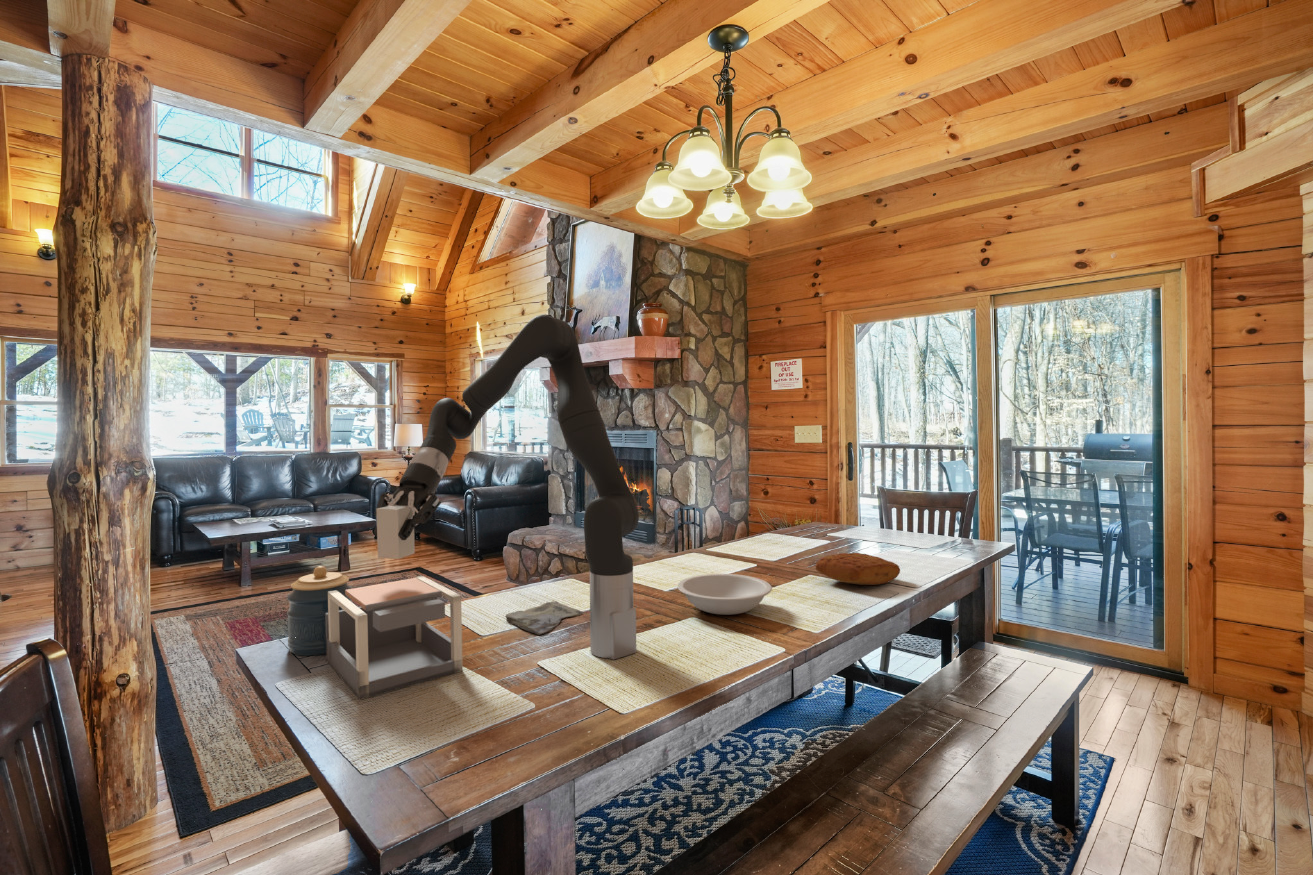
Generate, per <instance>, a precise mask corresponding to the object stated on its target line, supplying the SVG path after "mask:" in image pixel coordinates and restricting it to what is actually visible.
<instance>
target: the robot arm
mask: <svg viewBox="0 0 1313 875" xmlns="http://www.w3.org/2000/svg"><path fill="white" fill-rule="evenodd" d="M539 358H544V359H547V361H548V362H549V365H550V367H551V370H552V371H553V372H552V373H553V374H554V377H555V381H556V385H557V404H556V415H557V420H558V424H559V427H560V430H561V433H562V435H563V436H562V437H563V439H564V441H565V442H564V443H565V444H566V446H567V448H568V449H569V451H570V452H571V453H572V455H573V457H574V458H575V459H576V460H577V462H578V463H579V464H580V465H581V466H582V467H583V468H584V469H585V471H586V472H587V473H588V474H589V476H590V477H591V479H592V481H593V483H594V487H595V489H596V491H597V495H598V497H595V498H594V499H592V500H591V501H590V502H589V503H588V504H587V505H586V508H585V512H584V516H583V532H584V536H583V537H584V548H585V550H584V551H585V557H586V560H587V562H588V564H589V625H590V626H589V634H590V635H589V637H590V639H589V641H590V653H591V655H594V656H595V657H598V658H603V659H604V658H605V659H610V660H617V659H620V658H622V657H626V656H630V655H632V654H636V653H637V609H636V607H634V559H633V557H632V555H630V554H628V553H625V551H624V546H623V544H624V543H623V537H624V536H627V535H630V534H631V533H633V532H635V530H636V529H637V527H638V525H639V521H640V520H639V519H640V514H639V508H638V505H637V503H636V501H635V498H634V495H633V494H632V492H631V490H630V487H629V485H628V483H627V481H626V479H625V477H624V475H623V473H622V471H621V468H620V466H619V463H618V460H617V457H616V455H615V452H614V448H613V446H612V444H611V440H610V438H609V436H608V435H609V434H608V432H607V429H606V426H605V423H604V420H603V417H602V414H601V411H600V409H599V406H598V404H597V402H596V399H595V396H594V393H593V390H592V388H591V385H590V382H589V379H588V377H587V374H586V371H585V368H584V367H585V366H584V364H583V360H582V355H581V352H580V347H579V343H578V339H577V335H576V332H575V330H574V329H573V327H572V326H571V325H570V324H569V323H568V322H566V321H564V320H562V319H559V318H557V317H555V316H552V315H547V314H539V315H536V316H534V317H533V318H531V319H530V320H529V321H528V322H526V324H525V325H524V326H523V327H522V328H521V330H520V331H519V333H518V334H517V335H516V336H515V338H513V340H512V341H511V342H510V343H509V345H508V346H507V347H506V348H505V349H504V351H503V352H502V353H501V355H500V356H499V357H497V359H496V360H495V361H494V362H493V363H492V364H491V366H490V367H489V368H488V369H487V370H485V371H484V372H483V373H482V374H481V375H480V376H479V377H477V378H476V379H475V380H474V381H473V382H471V383H470V384H469V385H468V386H467V387H466V388H465V389H464V390H463V391H462V400H463V403H464V404H465V406H466V407H467V408H468V409H466V408H465V407H464V406H463V405H461V404H460V403H459V402H457V401H456V400H455V399H454V398H453V399H452V398H451V397H444V398H441V399H440V400H438V401H437V402H436V403H435V405H434V406H433V407H432V410H431V412H430V416H429V420H428V421H429V422H428V427H427V431H426V436H425V438H424V440H423V442H422V443H421V445H420V447H419V449H418V450H417V451H416V453H415V454H414V455H413V457H412V459H411V460H410V462H409V464H408V465H407V467H406V469H405V471H404V472H403V474H402V477H401V478H400V479H399V485H398V488H397V489H396V490H395V491H394V492H393V493H392V494H387V493H386V492H382V493H381V494H380V496H379V499H378V502H377V505H376V508H375V511H374V516H375V517H376V518H377V510H376V509H378V508H382V507H387V506H395V505H405V506H409V507H410V512H409V514H408V517H407V518H408V520H405V522H404V524H403V526H402V527H401V529H400V531H399V533H398V536H399V537H400V538H401V540H406V539H407V538H408V537H409V536H410V534H411V533H412V531H413V529H414V530H415V527H417V525H419V524H427V522H429V519H430V518H431V517H432V516H433V515H434V513H435V512H436V511H437V509H438V508H439V506H440V505H441V503H442V502H441V500H440V499H439V497H438V496H437V495H436V494H435V493H436V491H437V489H438V486H439V485H440V484H441V483H440V482H441V480H443V477H444V475H445V473H446V471H447V467H448V465H449V463H450V460H451V458H452V457H453V455H454V454H455V451H456V449H457V442H456V440H465V439H467V438H469V437H470V436H471V435H472V434H473V432H475V429H476V427H477V425H478V424H479V423H480V421H481V419H482V418H483V417H484V416H485V414H486V413H487V412H488V411H489V410H490V409H491V408H493V406H495V405H496V404H498V402H499V401H500V400H502V399H503V398H504V397H505V396H506V395H507V394H508V393H509V391H510V390H511V388H512V386H513V384H514V382H515V381H516V379H517V377H518V375H519V374H520V372H522V370H523V369H524V368H526V367H527V366H528V365H529V364H531V363H533V362H534V361H536V360H537V359H539ZM455 439H456V440H455ZM373 534H374V536H375V537H376V538H377V525H376V527H375V528H374V530H373Z"/></svg>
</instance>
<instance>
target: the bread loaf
mask: <svg viewBox="0 0 1313 875" xmlns="http://www.w3.org/2000/svg"><path fill="white" fill-rule="evenodd" d="M815 570H816V572H818V573H819V574H821V575H824V576H826V577H828V578H830V579H832V580H834V581H838V582H843V583H846V584H853V585H857V586H858V585H859V586H877V585H883V584H887V583H889V582H892V581H894V580H896V578H898V576H899V574H900V573H901V568H900V566H899V565H898V564H897V563H895V562H893V561H889V560H888V559H884V558H882V557H879V556H874V555H871V554H868V553H867V554H866V553H860V552H849V553H848V552H842V553H838V554H837V553H835V554H830V555H827V556H823V557H821V558H819V560H818V561H816V563H815Z"/></svg>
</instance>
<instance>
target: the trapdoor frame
mask: <svg viewBox="0 0 1313 875" xmlns="http://www.w3.org/2000/svg"><path fill="white" fill-rule="evenodd" d="M414 578H417V579H419V580H420V581H422V582H424V583H426V584H428V585H430V586H432V587H434V588H435V589H437V590H439V591H441V592H442V598H445V600H446V599H447V600H449V609H450V610H449V612H450V616H449V618H450V619H449V620H450V637H449V636H447V635H446V634H445V633H444V632H442V631H440V630H439V629H437V628H436V627H434V626H432V625H431V624H429V623H428V622H424V623H419V624H414V625H410V626H405V627H401V628H396V629H392V630H387V631H383V632H379V631H378V630H377V629H375V628H374V627H373V610H372V611H367V612H366V611H365V610H364V609H363V608H362V607H360V606H358V605H357V604H356V603H354V604H353V603H352V602H351V601H350V600H348V599H347V598H346V597H345V596H343V595H342V594H341V593H339V592H338V591H337V590H334V591H329V592H328V613H325V620H326V654H325V657H326V659H325V660H326V662H327V664H328V665H329V666H330V667H331V668H332V669H333V671H334V672H335V673H336V674H337V675H338V676H339V678H340V679H341V680H342V681H343V682H344V684H345V685H346V687H348V688H349V690H350V691H351V692H352V693H353V694H354V695H355V696H356V698H357V699H358V700H360V701H361V700H365V699H368V698H372V697H374V696H379V695H382V694H385V693H391V692H393V691H396V690H401V689H404V688H407V687H411V686H414V685H417V684H422V683H425V682H428V681H432V680H435V679H439V678H443V677H446V676H450V675H454V674H457V673H460V672H463V633H462V632H463V623H462V595H461V594H459V593H457V592H455V591H453V590H451V589H449V588H447V587H446V586H443V585H441V584H440V583H437V582H435V581H433V580H431V579H430V578H428V577H427V576H424V575H418V576H414ZM407 604H408V603H407ZM402 605H403V604H402ZM339 606H340V607H341V608H342V609H343V610H340V611H339ZM397 606H398V605H397ZM392 607H393V606H392ZM387 608H388V607H387ZM382 609H383V608H382Z"/></svg>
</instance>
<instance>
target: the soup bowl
mask: <svg viewBox="0 0 1313 875" xmlns="http://www.w3.org/2000/svg"><path fill="white" fill-rule="evenodd" d="M677 589H678V590H679V592H681V593H682V594H684V596H685V597H686V598H687V600H688V602H689V603H690V604H692V605H693V606H694V607H696V608H697V609H699V610H701V611H703V612H705V613H710V614H714V615H724V616H725V615H728V616H729V615H731V616H732V615H738V614H739V615H740V614H743V613H746V612H749V611H751V610H753V609H754V608H755V607H757V606H758V605H759V604H761V602H762V601H763V600H764V598H765V596H768V595H769V594H770V593H771V592H772V590H773V588H772V585H771V584H770V583H769V582H768V581H766V580H764V579H761V578H758V577H754V576H749V575H744V574H743V575H742V574H736V573H735V574H734V573H711V574H710V573H709V574H700V575H699V574H698V575H695V576H690V577H686V578H684V579H682V580H680V581H679V582H678V583H677Z"/></svg>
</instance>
